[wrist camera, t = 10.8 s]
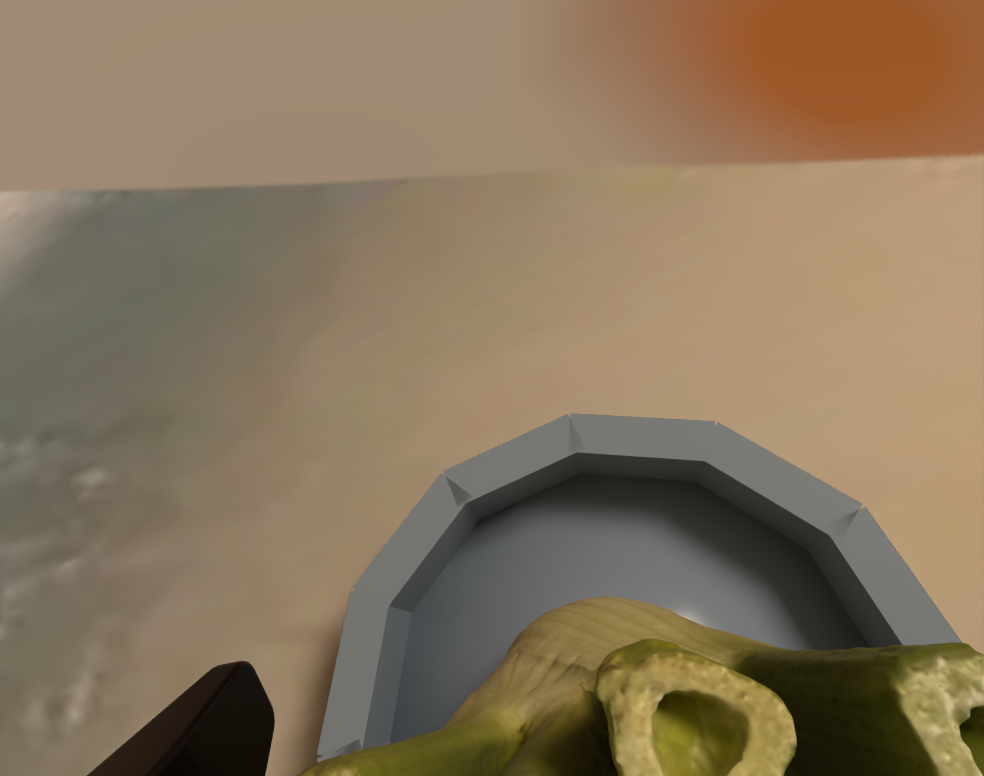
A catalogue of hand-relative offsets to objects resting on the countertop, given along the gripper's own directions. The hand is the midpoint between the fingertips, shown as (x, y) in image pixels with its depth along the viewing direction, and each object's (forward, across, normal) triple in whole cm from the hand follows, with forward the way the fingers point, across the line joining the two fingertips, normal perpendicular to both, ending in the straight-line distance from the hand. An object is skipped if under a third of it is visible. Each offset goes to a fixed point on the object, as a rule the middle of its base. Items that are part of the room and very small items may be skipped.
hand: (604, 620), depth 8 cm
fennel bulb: (+5, 0, +7) cm, 9 cm away
